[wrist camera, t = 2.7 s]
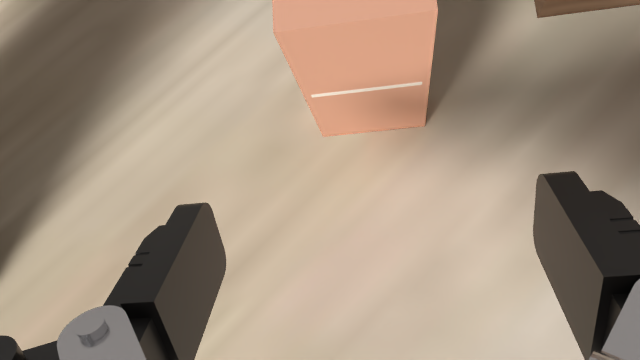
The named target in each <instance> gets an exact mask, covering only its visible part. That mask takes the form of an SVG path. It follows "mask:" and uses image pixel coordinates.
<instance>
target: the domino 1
mask: <svg viewBox="0 0 640 360" xmlns="http://www.w3.org/2000/svg"><path fill="white" fill-rule="evenodd" d="M272 3H273V32H274V35H275V37H276V39H277V41H278V43H279V45H280V47H281V49H282V51H283V53H284V56H285V58H286V60H287V62H288V64H289V66H290V68H291V70H292V72H293V74H294V77H295V79H296V81H297V83H298V85H299V87H300V89H301V91H302V93H303V95H304V97H305V100H306V102H307V104H308V106H309V108H310V110H311V112H312V114H313V116H314V118H315V120H316V123H317V125H318V127H319V129H320V131H321V133H322V135H323V137H326V136H335V135H344V134H354V133H363V132H373V131H382V130H392V129H401V128H411V127H420V126H425V121H426V112H427V103H428V94H429V85H430V76H431V67H432V59H433V50H434V41H435V32H436V23H437V14H438V6H437V0H272Z"/></svg>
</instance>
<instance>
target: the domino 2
mask: <svg viewBox="0 0 640 360" xmlns="http://www.w3.org/2000/svg"><path fill="white" fill-rule="evenodd" d="M534 1H535V7H536V12H537V18H540V17H548V16H555V15H563V14H571V13H578V12H586V11H594V10H601V9H609V8H616V7H624V6H632V5H639V4H640V0H534Z"/></svg>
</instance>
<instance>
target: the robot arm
mask: <svg viewBox="0 0 640 360" xmlns="http://www.w3.org/2000/svg"><path fill="white" fill-rule="evenodd" d="M533 236H534V244H535V248H536V252H537V255H538V257H539V259H540V261H541V264H542V266H543V268H544V270H545V273H546V275H547V277H548V279H549V281H550V284H551V286H552V288H553V290H554V292H555V295H556V297H557V299H558V301H559V303H560V306H561V308H562V310H563V312H564V314H565V317H566V319H567V321H568V323H569V326H570V328H571V330H572V332H573V334H574V337H575V339H576V341H577V343H578V345H579V348H580V350H581V352H582V354H583V356H584V359H585V360H640V225H639V224H638V223H637V221H636V220H633V216H632V215H631V214H630V212H629V211H628V210H627V209H626V207H625V206H624V205H623V203H622V202H620V201H618V200H617V199H615V198H613V197H612V196H610V195H608V194H607V193H605V192H604V191H589V190H588V188H587V187H586V185H585V184H584V183H583V181H582V180H581V178H580V177H579V176H578V174H577V173H576V172H574V171H571V172H560V173H548V174H540V175H539V176H538V179H537V184H536V198H535V211H534V225H533ZM128 265H129V267H127V268H126V269H125V271H124V272H123V274H122V276H121V277H120V279H119V280H118V282H117V284H116V285H115V287H114V289H113V290H112V292H111V294H110V295H109V297H108V298H107V300H106V302H105V303H104V305H103V306H101V307H97V308H93V309H91V310H88V311H86V312H84V313H82V314H81V315H79V316H78V317H76V318H75V319H73V320H72V321H71V322H70V323H69V324H68V325H67V326H66V327H65V328H64V329H63V330H62V332H61V334H60V335H59V338H58V341H54V342H51V343H48V344H44V345H41V346H38V347H34V348H31V349H28V350H24V351H22V350H21V349H20V347H19V346H18V344H17V343H16V341H15V340H14V339H13V338H11V337H9V336H0V360H194V359H195V356H196V353H197V350H198V347H199V345H200V342H201V339H202V336H203V333H204V331H205V328H206V325H207V322H208V319H209V317H210V314H211V311H212V308H213V305H214V303H215V300H216V297H217V294H218V291H219V289H220V286H221V283H222V280H223V277H224V275H225V270H226V255H225V250H224V246H223V243H222V240H221V237H220V234H219V230H218V227H217V224H216V221H215V218H214V214H213V211H212V209H211V207H210V205H209V204H208V203H196V204H184V205H178V206H177V207H176V208H175V209H174V211H173V213H172V215H171V216H170V218H169V220H168V222H167V223H166V225H162V226H158V227H157V228H156V229H155V230H154V231H153V232H151V233H150V234H149V235H148V236H147V237H146V238H144V240H143V241H142V243H141V245H140V246H139V248H138V250H137V251H136V256H133V258H132V259H131V261H130V263H129V264H128Z"/></svg>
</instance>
